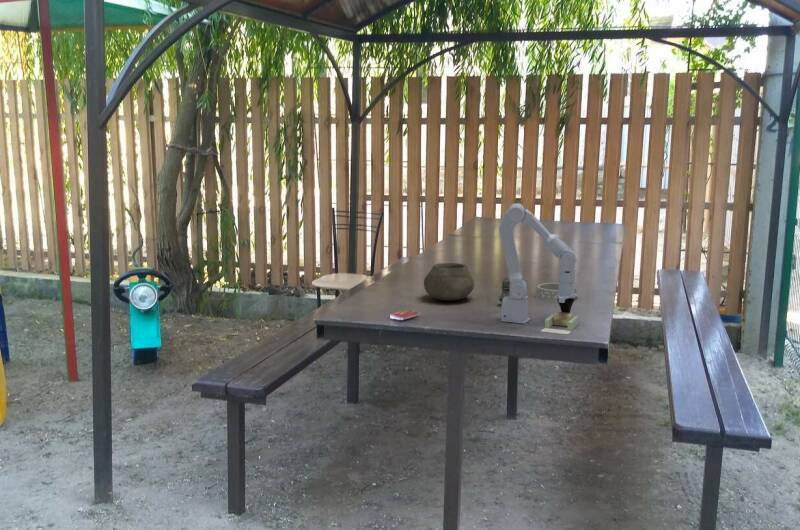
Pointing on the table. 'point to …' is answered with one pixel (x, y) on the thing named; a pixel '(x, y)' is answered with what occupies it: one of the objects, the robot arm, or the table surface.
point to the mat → (555, 331)
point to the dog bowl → (549, 292)
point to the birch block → (562, 318)
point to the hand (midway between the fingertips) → (565, 317)
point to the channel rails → (571, 323)
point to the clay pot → (449, 281)
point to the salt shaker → (505, 290)
